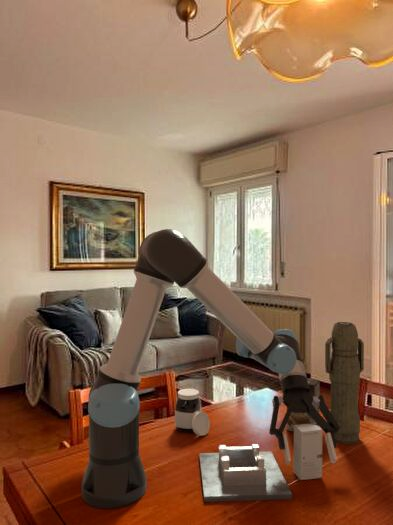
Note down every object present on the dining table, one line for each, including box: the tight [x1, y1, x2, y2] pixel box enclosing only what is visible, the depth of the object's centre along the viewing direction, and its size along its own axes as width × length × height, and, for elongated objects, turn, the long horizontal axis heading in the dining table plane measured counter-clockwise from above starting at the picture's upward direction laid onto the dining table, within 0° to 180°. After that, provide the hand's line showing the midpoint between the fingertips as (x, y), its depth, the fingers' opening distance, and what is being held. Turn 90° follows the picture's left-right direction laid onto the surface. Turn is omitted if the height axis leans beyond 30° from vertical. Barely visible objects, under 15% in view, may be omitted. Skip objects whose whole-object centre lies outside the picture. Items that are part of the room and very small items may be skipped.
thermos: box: [324, 321, 365, 445], centre depth 123 cm, size 9×12×35 cm
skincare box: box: [292, 424, 323, 481], centre depth 102 cm, size 6×4×12 cm
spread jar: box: [174, 388, 211, 437], centre depth 129 cm, size 12×11×12 cm
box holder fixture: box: [198, 443, 293, 503], centre depth 101 cm, size 20×20×6 cm
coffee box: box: [285, 377, 321, 432], centre depth 128 cm, size 9×6×16 cm
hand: (311, 462), depth 99 cm, fingers open, 11 cm apart
